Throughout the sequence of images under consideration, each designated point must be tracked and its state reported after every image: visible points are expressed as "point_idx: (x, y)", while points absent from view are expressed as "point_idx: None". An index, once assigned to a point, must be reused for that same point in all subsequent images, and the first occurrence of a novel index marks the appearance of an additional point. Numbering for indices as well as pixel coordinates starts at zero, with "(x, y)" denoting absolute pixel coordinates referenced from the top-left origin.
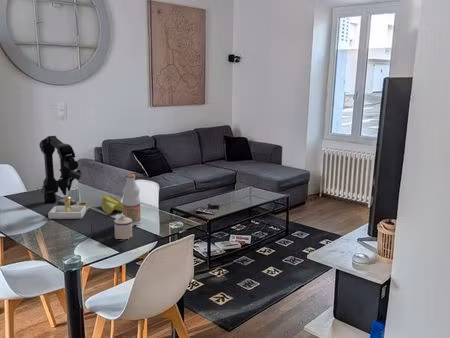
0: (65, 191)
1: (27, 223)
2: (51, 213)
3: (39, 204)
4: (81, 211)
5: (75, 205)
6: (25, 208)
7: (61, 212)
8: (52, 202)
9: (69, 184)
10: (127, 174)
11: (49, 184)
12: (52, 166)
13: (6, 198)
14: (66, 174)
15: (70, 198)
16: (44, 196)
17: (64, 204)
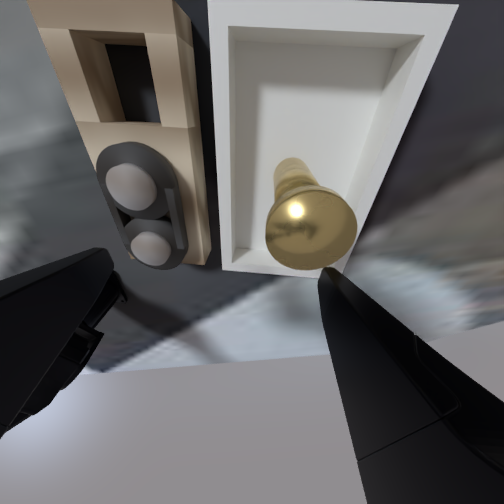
0: (385, 319)
1: None
2: (343, 265)
3: (141, 309)
4: (406, 15)
5: (179, 143)
6: (192, 333)
7: (356, 216)
8: (109, 278)
9: (5, 331)
10: None
11: (42, 384)
12: None
13: (117, 369)
14: None
15: (326, 189)
16: (98, 322)
17: (184, 226)
